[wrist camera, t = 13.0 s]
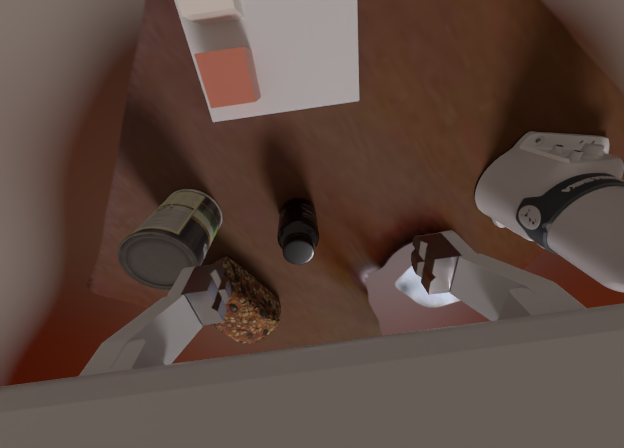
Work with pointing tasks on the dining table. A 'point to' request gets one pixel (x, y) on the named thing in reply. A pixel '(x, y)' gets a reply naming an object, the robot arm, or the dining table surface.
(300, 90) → the plate
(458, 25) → the dining table surface
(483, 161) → the dining table surface
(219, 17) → the pale grey cube
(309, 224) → the supplement bottle
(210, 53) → the salmon red cube
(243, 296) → the bread
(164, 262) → the coffee can
